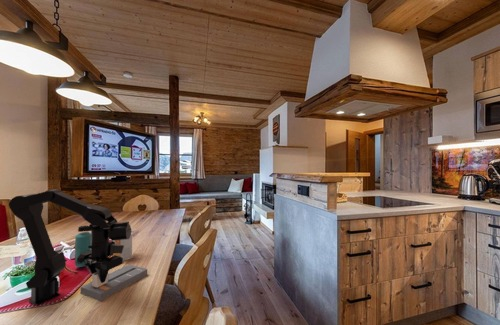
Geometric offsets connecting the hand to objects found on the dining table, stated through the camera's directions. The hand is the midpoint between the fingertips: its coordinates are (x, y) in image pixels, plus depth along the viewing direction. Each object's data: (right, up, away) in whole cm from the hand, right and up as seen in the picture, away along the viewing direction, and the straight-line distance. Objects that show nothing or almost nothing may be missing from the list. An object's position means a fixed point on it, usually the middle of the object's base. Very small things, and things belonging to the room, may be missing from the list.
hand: (100, 281), depth 81 cm
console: (+3, -4, +6) cm, 8 cm away
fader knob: (0, -2, 0) cm, 2 cm away
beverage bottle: (-23, -5, +20) cm, 31 cm away
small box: (-10, -5, +30) cm, 32 cm away
